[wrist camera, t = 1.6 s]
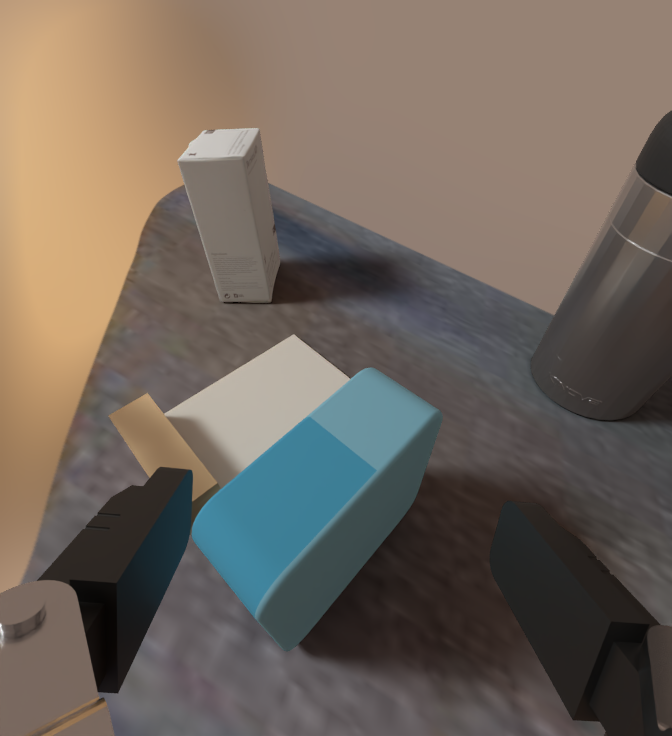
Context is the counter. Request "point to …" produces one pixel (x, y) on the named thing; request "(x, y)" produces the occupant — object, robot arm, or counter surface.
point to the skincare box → (233, 212)
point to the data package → (319, 503)
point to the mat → (254, 406)
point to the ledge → (162, 447)
